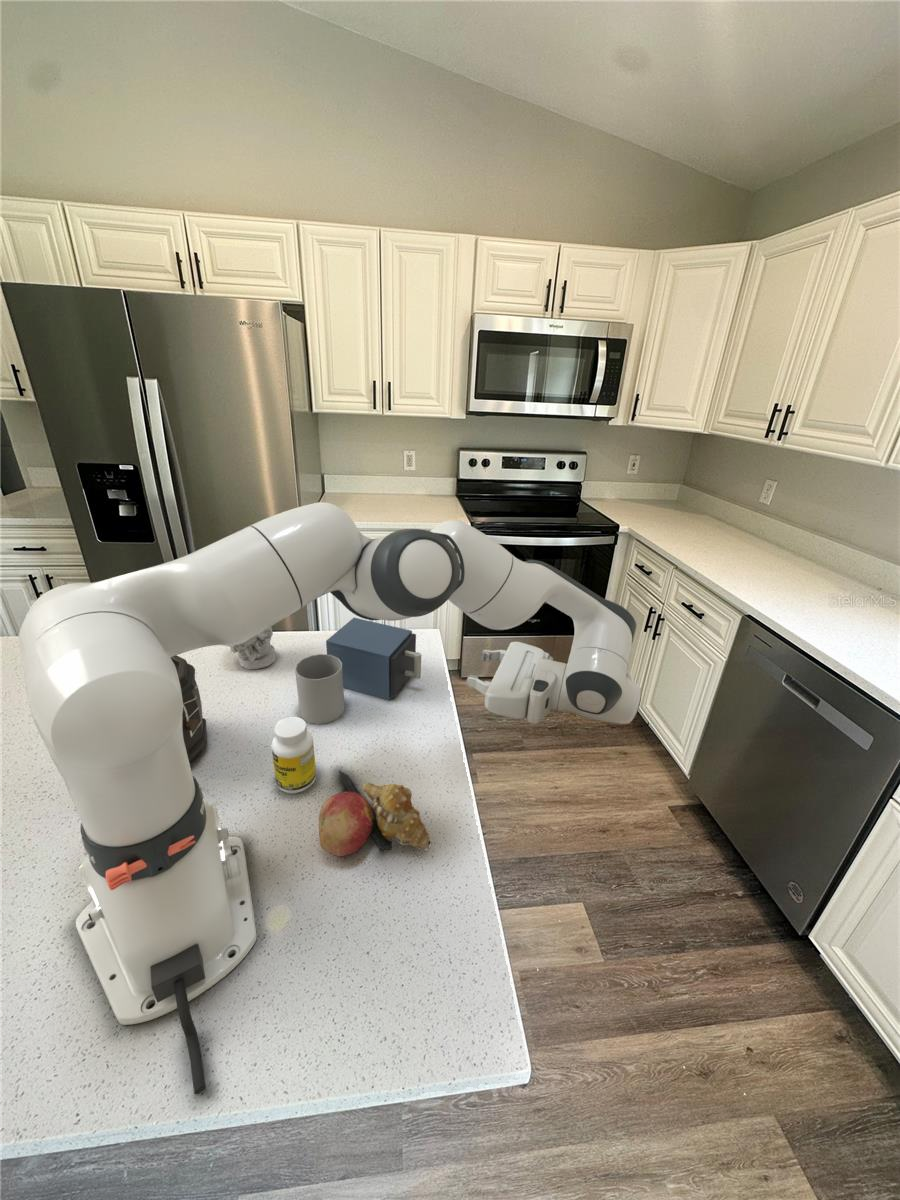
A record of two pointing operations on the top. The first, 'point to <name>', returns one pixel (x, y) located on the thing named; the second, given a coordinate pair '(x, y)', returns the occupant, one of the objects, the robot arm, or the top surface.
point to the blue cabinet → (367, 655)
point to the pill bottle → (293, 755)
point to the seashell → (397, 814)
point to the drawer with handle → (405, 665)
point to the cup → (320, 688)
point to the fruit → (345, 823)
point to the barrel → (190, 709)
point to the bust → (256, 651)
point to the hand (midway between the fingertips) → (475, 666)
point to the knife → (375, 831)
